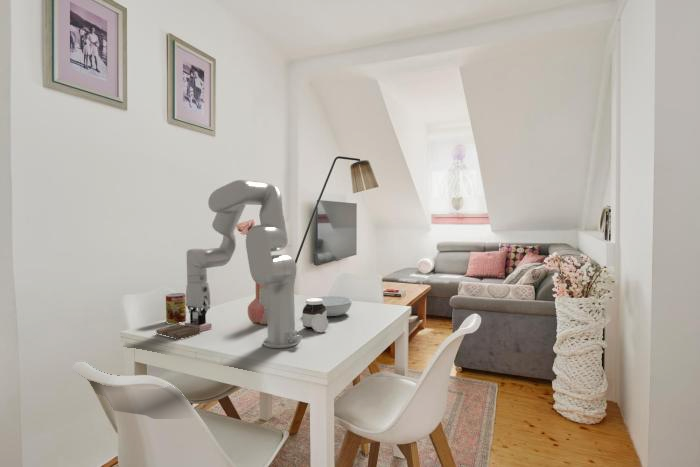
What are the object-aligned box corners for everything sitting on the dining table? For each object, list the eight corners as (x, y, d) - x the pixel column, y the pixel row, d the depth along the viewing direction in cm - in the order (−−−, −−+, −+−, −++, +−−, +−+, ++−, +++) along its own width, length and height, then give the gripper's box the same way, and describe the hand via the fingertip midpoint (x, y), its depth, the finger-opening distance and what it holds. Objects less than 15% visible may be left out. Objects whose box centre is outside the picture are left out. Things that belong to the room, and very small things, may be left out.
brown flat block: (199, 333, 151) (199, 328, 151) (178, 340, 143) (178, 334, 143) (177, 329, 158) (177, 323, 158) (156, 334, 150) (156, 329, 150)
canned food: (176, 324, 166) (175, 296, 165) (162, 323, 168) (161, 295, 168) (189, 320, 173) (189, 293, 173) (176, 318, 176) (175, 292, 175)
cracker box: (271, 325, 162) (270, 275, 162) (258, 324, 164) (257, 275, 163) (286, 317, 176) (285, 271, 175) (273, 316, 177) (273, 271, 177)
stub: (211, 328, 158) (211, 311, 158) (200, 331, 153) (199, 314, 153) (196, 325, 163) (195, 308, 163) (184, 328, 159) (184, 311, 158)
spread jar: (314, 324, 164) (314, 296, 163) (336, 327, 158) (336, 299, 157) (296, 331, 153) (296, 302, 153) (319, 335, 147) (319, 304, 147)
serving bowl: (297, 316, 178) (297, 301, 177) (326, 308, 195) (325, 294, 195) (333, 322, 166) (333, 306, 166) (360, 313, 183) (360, 298, 183)
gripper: (218, 279, 156) (219, 323, 157) (192, 276, 165) (192, 318, 166) (202, 281, 150) (203, 328, 151) (176, 278, 159) (177, 322, 159)
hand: (198, 322), depth 158 cm, fingers closed on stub, 4 cm apart
